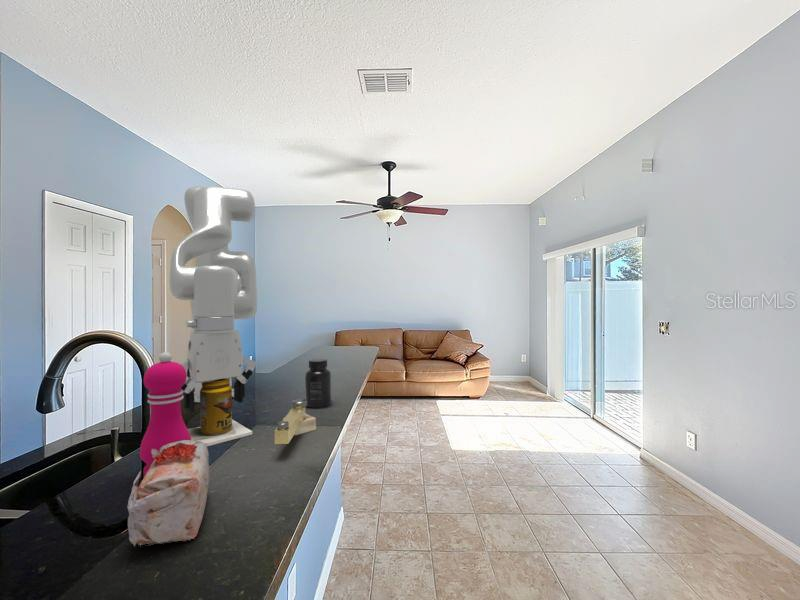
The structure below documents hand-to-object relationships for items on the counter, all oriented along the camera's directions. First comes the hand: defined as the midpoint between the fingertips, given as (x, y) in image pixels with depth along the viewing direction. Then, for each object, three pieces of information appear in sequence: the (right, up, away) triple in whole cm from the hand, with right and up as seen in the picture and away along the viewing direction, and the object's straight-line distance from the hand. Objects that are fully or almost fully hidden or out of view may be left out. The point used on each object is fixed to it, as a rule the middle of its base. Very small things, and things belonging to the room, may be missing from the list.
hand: (215, 406), depth 80 cm
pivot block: (+17, -6, +3) cm, 18 cm away
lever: (+17, -3, -4) cm, 18 cm away
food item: (+10, -7, -30) cm, 32 cm away
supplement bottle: (+17, -6, +21) cm, 28 cm away
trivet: (0, -6, 0) cm, 6 cm away
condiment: (-1, -6, 0) cm, 6 cm away
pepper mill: (+1, -6, -18) cm, 19 cm away
